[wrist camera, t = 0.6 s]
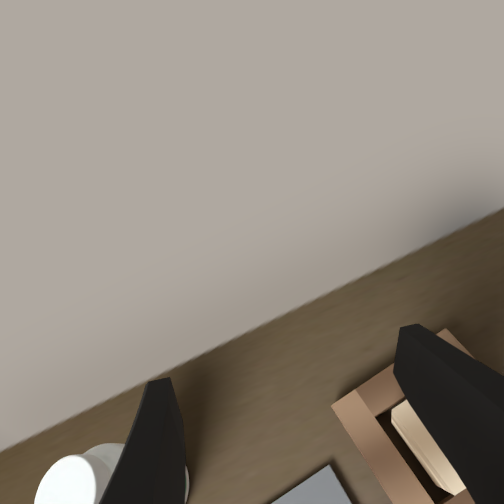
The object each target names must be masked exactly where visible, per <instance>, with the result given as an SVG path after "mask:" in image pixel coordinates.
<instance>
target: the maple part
mask: <svg viewBox="0 0 504 504" xmlns="http://www.w3.org/2000/svg"><path fill="white" fill-rule="evenodd" d="M391 423H392V425H393V426H394V428H395V429H396V430H397V432H398V433H399V435H400V436H401V437H402V439H403V440H404V442H405V443H406V444H407V446H408V447H409V449H410V450H411V451H412V453H413V454H414V456H415V457H416V458H417V460H418V461H419V463H420V464H421V465H422V467H423V468H424V469H425V471H426V472H427V474H428V475H429V476H430V478H431V479H432V481H433V482H434V483H435V485H436V486H438V487H440V488H442V489H444V490H445V491H447V492H449V493H451V494H453V495H454V496H455V495H457V494H458V493H460V492H461V491H463V490H464V489H466V487H465V485H464V484H463V482H462V481H461V479H460V477H459V476H458V474H457V473H456V471H455V470H454V468H453V467H452V465H451V464H450V463H449V461H448V460H447V458H446V457H445V455H444V454H443V452H442V451H441V450H440V448H439V447H438V445H437V444H436V442H435V441H434V439H433V438H432V437H431V435H430V434H429V432H428V431H427V429H426V428H425V426H424V425H423V423H422V422H421V421H420V419H419V418H418V416H417V415H416V413H415V412H414V410H413V409H412V407H411V406H410V404H409V403H408V401H407V400H405V401H404V402H402V403H401V404H399V405H398V406H396V407H395V408H393V409H392V418H391Z"/></svg>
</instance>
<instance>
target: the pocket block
mask: <svg viewBox="0 0 504 504" xmlns="http://www.w3.org/2000/svg"><path fill="white" fill-rule="evenodd" d="M436 335H437V336H439V337H441V338H442V339H444V340H445V341H447V342H448V343H450V344H452V345H453V346H455V347H456V348H458V349H460V350H461V351H463V352H464V353H466V354H468V355H469V356H471V357H472V358H474V357H473V356H472V355H471V354H470V353H469V352H468V351H467V350H466V349H465V348H464V347H463V346H462V345H461V343H460V342H459V341H458V340H457V339H456V338H455V337H454V336H453V335H452V334H451V333H450V332H449V331H448V330H447V329H446V328H445V329H443V330H442V331H440V332H439V333H438V334H436ZM474 359H475V358H474ZM393 368H394V363H393V364H392V365H390V366H389V367H387V368H386V369H384V370H383V371H381V372H380V373H378V374H377V375H375V376H374V377H372V378H371V379H369V380H368V381H366V382H365V383H363V384H362V385H361V386H359V387H358V388H356V389H355V390H353V391H352V392H350V393H349V394H347V395H346V396H344V397H343V398H341V399H340V400H338V401H337V402H335V403H334V404H332V405H331V407H332V408H333V410H334V411H335V413H336V415H337V416H338V418H339V419H340V421H341V422H342V424H343V426H344V427H345V429H346V430H347V432H348V433H349V435H350V437H351V438H352V440H353V441H354V443H355V445H356V446H357V448H358V449H359V451H360V452H361V454H362V456H363V457H364V459H365V460H366V462H367V463H368V465H369V467H370V468H371V470H372V471H373V473H374V474H375V476H376V478H377V479H378V481H379V482H380V484H381V486H382V487H383V489H384V490H385V492H386V493H387V495H388V497H389V498H390V500H391V501H392V503H393V504H434V502H433V501H432V499H431V498H430V496H429V495H428V494H427V492H426V491H425V489H424V488H423V486H422V485H421V483H420V482H419V481H418V479H417V478H416V476H415V475H414V473H413V472H412V471H411V469H410V468H409V466H408V465H407V463H406V462H405V460H404V459H403V458H402V456H401V455H400V453H399V452H398V450H397V449H396V447H395V446H394V445H393V443H392V442H391V440H390V439H389V437H388V436H387V435H386V433H385V432H384V430H383V429H382V427H381V426H380V424H379V423H378V422H377V420H376V419H375V418H377V417H378V416H380V415H381V414H383V413H384V412H386V411H387V410H389V409H390V408H392V407H393V406H395V405H396V404H398V403H399V402H401V401H402V400H403V399H405V398H406V397H405V395H404V394H403V392H402V390H401V388H400V386H399V384H398V382H397V380H396V378H395V376H394V374H393ZM437 504H475V502H474V501H473V499H472V497H471V495H470V494H469V492H468V490H467V488H466V489H464V490H463V491H461V492H460V493H458V494H457V495H455V496H454V495H453V494H451V495H449V496H448V497H446V498H445V499H443V500H442V501H440V502H439V503H437Z"/></svg>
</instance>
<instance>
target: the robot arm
mask: <svg viewBox="0 0 504 504" xmlns="http://www.w3.org/2000/svg"><path fill="white" fill-rule="evenodd" d="M393 374H394V376H395V378H396V380H397V382H398V384H399V386H400V388H401V390H402V392H403V394H404V395H405V397H406V399H407V401H408V403H409V404H410V406H411V407H412V409H413V410H414V412H415V413H416V415H417V416H418V418H419V419H420V421H421V422H422V423H423V425H424V426H425V428H426V429H427V431H428V432H429V434H430V435H431V437H432V438H433V439H434V441H435V442H436V444H437V445H438V447H439V448H440V450H441V451H442V452H443V454H444V455H445V457H446V458H447V460H448V461H449V463H450V464H451V465H452V467H453V468H454V470H455V471H456V473H457V474H458V476H459V477H460V479H461V481H462V482H463V484H464V485H465V487H466V488H467V490H468V492H469V494H470V495H471V497H472V499H473V501H474V502H475V504H504V376H502V375H501V374H499V373H497V372H496V371H494V370H492V369H491V368H489V367H487V366H486V365H484V364H482V363H481V362H479V361H477V360H476V359H474V358H472V357H471V356H469V355H468V354H466V353H464V352H463V351H461V350H460V349H458V348H456V347H455V346H453V345H452V344H450V343H448V342H447V341H445V340H444V339H442V338H441V337H439V336H437V335H436V334H434V333H433V332H431V331H429V330H428V329H426V328H425V327H423V326H421V325H420V324H414V325H409V326H404V327H400V331H399V337H398V343H397V349H396V355H395V361H394V368H393ZM185 472H186V455H185V442H184V430H183V420H182V417H181V414H180V410H179V407H178V403H177V400H176V396H175V393H174V390H173V386H172V383H171V379H170V377H168V378H163V379H159V380H154V381H149V382H148V383H147V384H146V385H145V389H144V393H143V396H142V399H141V402H140V405H139V408H138V411H137V414H136V417H135V420H134V422H133V425H132V428H131V431H130V433H129V436H128V438H127V441H126V443H125V446H124V448H123V450H122V453H121V455H120V458H119V460H118V463H117V465H116V467H115V469H114V471H113V474H112V476H111V478H110V480H109V482H108V485H107V487H106V489H105V491H104V493H103V495H102V498H101V500H100V502H99V504H185Z"/></svg>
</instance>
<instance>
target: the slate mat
mask: <svg viewBox="0 0 504 504" xmlns="http://www.w3.org/2000/svg"><path fill="white" fill-rule="evenodd" d="M272 504H352V502H351V500H350V499H349V497H348V495H347V493H346V492H345V490H344V488H343V486H342V485H341V483H340V481H339V479H338V478H337V476H336V474H335V472H334V471H333V469H332V467H331V465H328V466H326V467H325V468H323V469H322V470H320V471H319V472H317V473H316V474H314V475H313V476H311V477H310V478H309V479H307V480H306V481H304V482H303V483H301V484H300V485H298V486H297V487H295V488H294V489H292V490H291V491H289V492H288V493H286V494H285V495H283V496H282V497H280V498H279V499H277V500H276V501H274V502H273V503H272Z"/></svg>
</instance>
